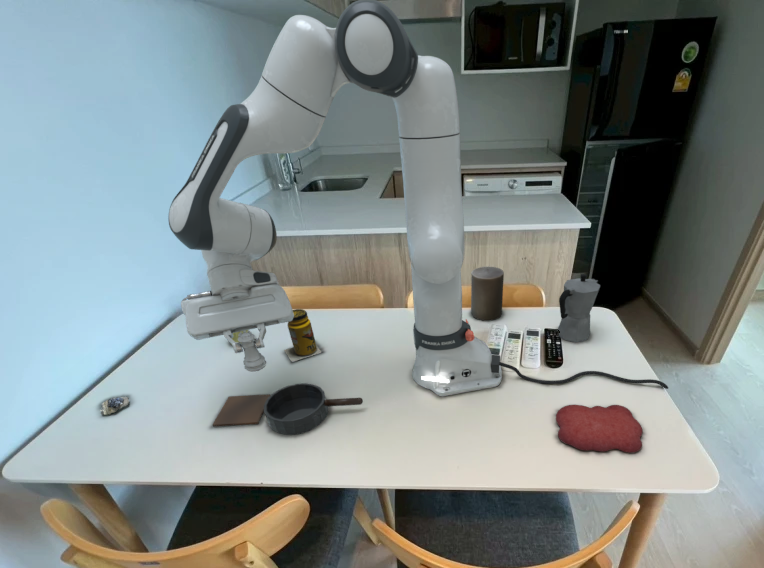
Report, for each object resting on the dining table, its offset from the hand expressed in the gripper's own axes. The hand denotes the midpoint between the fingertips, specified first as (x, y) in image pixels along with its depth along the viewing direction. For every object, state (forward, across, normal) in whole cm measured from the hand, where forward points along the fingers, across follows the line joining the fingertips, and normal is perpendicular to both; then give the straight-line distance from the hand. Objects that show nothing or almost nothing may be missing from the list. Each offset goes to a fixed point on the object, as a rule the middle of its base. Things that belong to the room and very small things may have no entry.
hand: (250, 349), depth 84 cm
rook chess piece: (+3, 0, +4) cm, 5 cm away
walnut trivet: (+9, -6, +16) cm, 19 cm away
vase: (-15, -6, +40) cm, 43 cm away
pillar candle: (-3, +67, +28) cm, 72 cm away
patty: (+36, +63, -12) cm, 74 cm away
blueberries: (-1, -35, +27) cm, 44 cm away
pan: (+14, +6, +11) cm, 19 cm away
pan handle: (+15, +16, +6) cm, 23 cm away
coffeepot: (+13, +82, +12) cm, 84 cm away
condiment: (-5, +10, +30) cm, 32 cm away
